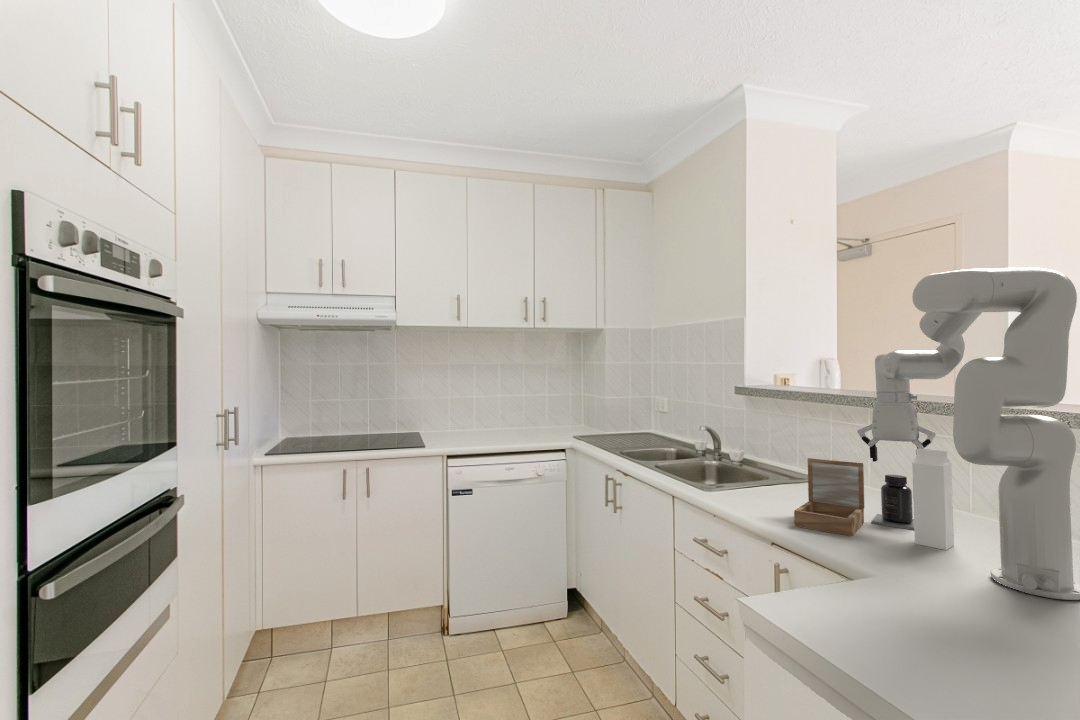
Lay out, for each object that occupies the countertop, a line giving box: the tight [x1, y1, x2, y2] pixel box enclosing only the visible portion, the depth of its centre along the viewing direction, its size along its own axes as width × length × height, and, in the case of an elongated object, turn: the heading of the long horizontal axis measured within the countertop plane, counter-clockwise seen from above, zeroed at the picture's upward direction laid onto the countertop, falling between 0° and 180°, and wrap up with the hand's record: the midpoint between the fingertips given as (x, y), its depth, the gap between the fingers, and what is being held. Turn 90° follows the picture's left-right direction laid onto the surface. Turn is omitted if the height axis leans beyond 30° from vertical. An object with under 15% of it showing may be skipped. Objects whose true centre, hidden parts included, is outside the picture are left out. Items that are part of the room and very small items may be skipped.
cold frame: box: [793, 457, 865, 537], centre depth 133 cm, size 16×13×16 cm
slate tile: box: [870, 513, 914, 531], centre depth 134 cm, size 10×10×1 cm
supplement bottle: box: [880, 474, 914, 524], centre depth 134 cm, size 7×7×12 cm
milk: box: [911, 448, 955, 551], centre depth 117 cm, size 6×6×22 cm
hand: (896, 462), depth 134 cm, fingers open, 9 cm apart
